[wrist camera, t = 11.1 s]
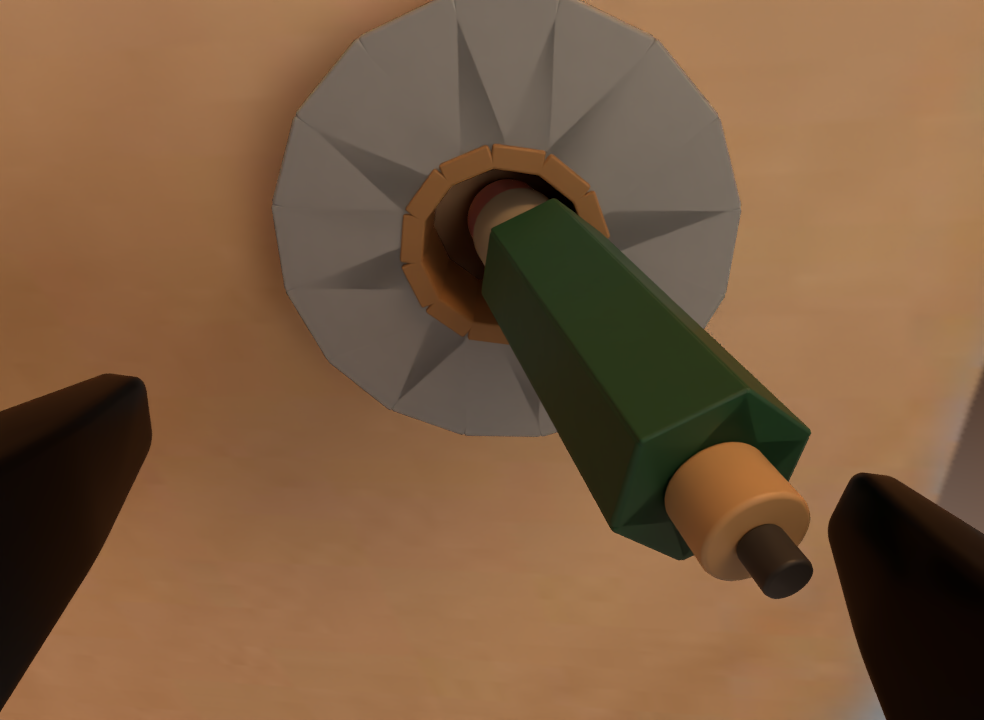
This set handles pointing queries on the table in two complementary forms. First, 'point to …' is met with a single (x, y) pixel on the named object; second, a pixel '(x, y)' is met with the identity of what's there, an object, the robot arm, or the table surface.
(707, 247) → the tape
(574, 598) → the table surface
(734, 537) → the pencil
